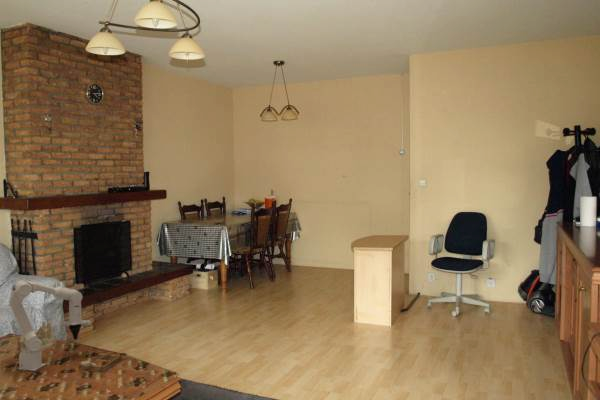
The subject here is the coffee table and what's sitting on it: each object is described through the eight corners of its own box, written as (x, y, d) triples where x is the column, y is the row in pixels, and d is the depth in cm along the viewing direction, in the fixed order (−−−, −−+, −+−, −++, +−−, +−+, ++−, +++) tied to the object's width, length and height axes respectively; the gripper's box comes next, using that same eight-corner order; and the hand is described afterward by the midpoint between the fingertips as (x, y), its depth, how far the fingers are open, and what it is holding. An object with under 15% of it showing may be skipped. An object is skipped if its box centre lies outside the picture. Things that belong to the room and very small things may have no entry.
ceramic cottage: (59, 340, 272) (57, 315, 271) (44, 352, 256) (41, 325, 255) (33, 341, 273) (30, 316, 271) (16, 353, 256) (12, 327, 255)
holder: (79, 369, 232) (78, 364, 232) (98, 357, 247) (98, 353, 247) (103, 372, 229) (103, 367, 229) (122, 360, 244) (121, 355, 244)
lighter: (80, 364, 238) (81, 370, 231) (80, 361, 238) (81, 367, 231) (96, 362, 241) (96, 368, 234) (96, 359, 241) (96, 365, 234)
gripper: (57, 316, 241) (58, 342, 242) (88, 314, 244) (88, 340, 245) (62, 312, 248) (62, 337, 249) (91, 310, 251) (91, 335, 252)
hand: (75, 338), depth 247 cm, fingers closed
